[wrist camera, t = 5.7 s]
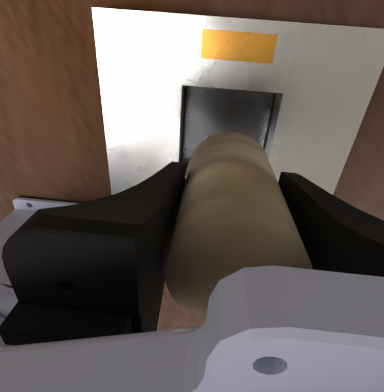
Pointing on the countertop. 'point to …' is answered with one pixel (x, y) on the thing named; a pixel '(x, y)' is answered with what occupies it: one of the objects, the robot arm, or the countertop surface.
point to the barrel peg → (228, 220)
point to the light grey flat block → (231, 89)
